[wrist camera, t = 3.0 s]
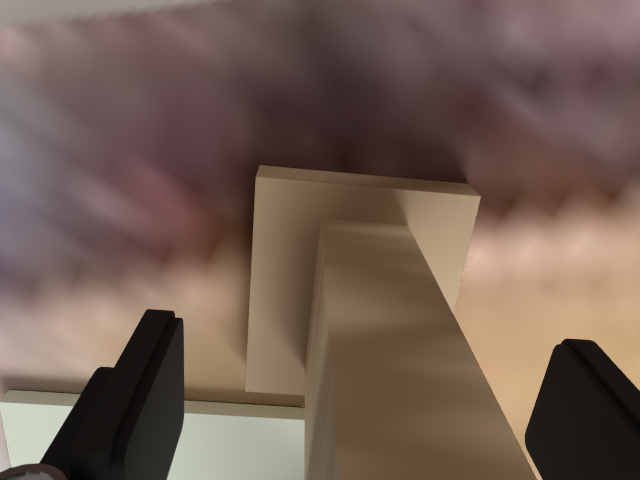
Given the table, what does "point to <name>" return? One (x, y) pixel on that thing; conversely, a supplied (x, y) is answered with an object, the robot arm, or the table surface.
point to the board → (194, 443)
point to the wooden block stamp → (373, 327)
